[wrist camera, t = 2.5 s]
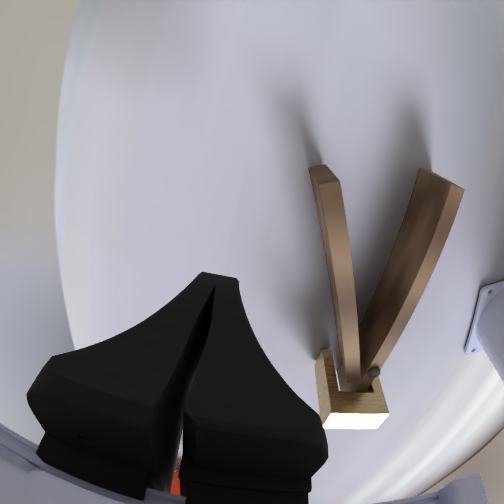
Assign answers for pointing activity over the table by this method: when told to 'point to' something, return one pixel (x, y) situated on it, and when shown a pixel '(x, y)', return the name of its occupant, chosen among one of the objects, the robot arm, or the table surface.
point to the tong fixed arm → (405, 274)
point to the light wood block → (347, 400)
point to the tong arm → (338, 265)
